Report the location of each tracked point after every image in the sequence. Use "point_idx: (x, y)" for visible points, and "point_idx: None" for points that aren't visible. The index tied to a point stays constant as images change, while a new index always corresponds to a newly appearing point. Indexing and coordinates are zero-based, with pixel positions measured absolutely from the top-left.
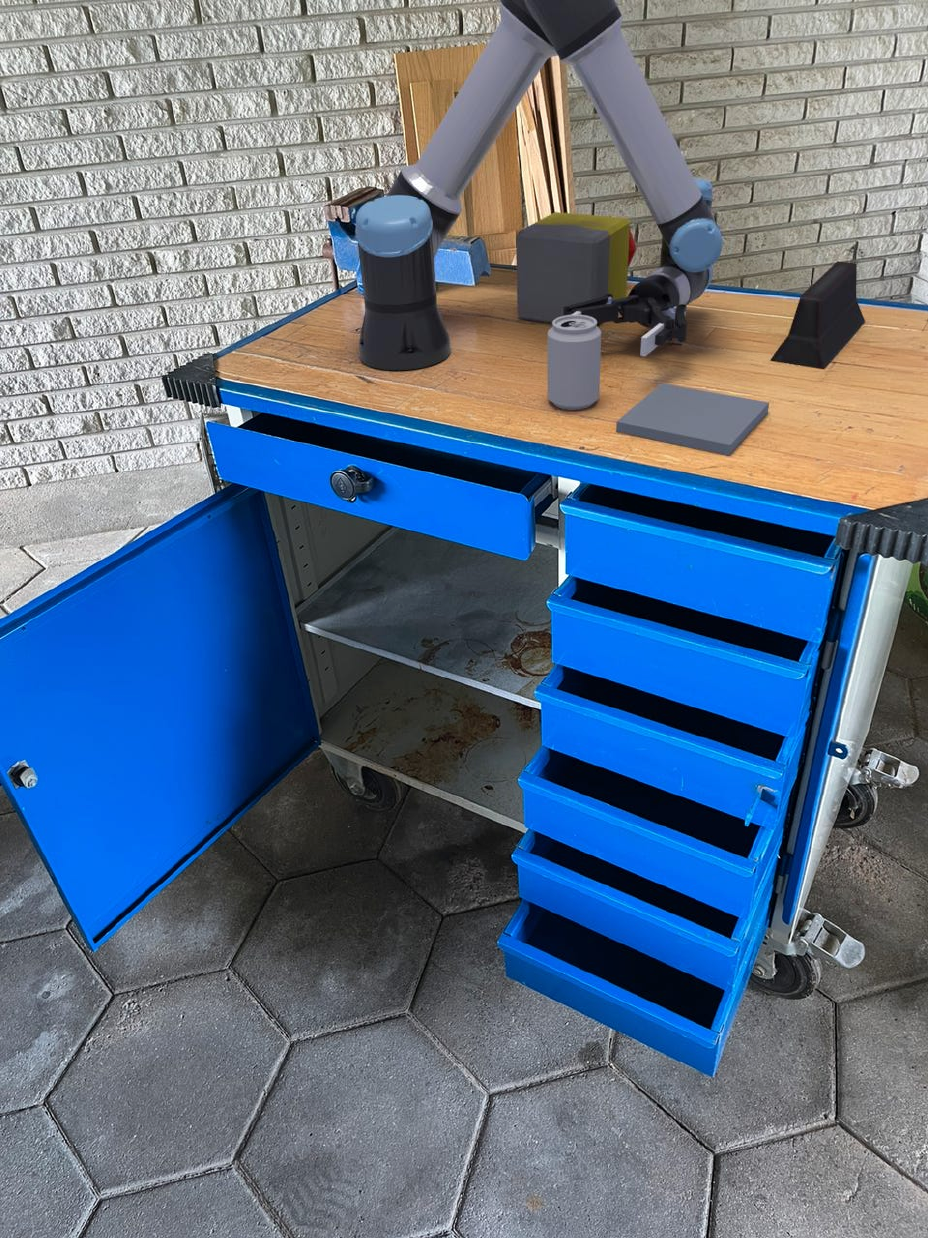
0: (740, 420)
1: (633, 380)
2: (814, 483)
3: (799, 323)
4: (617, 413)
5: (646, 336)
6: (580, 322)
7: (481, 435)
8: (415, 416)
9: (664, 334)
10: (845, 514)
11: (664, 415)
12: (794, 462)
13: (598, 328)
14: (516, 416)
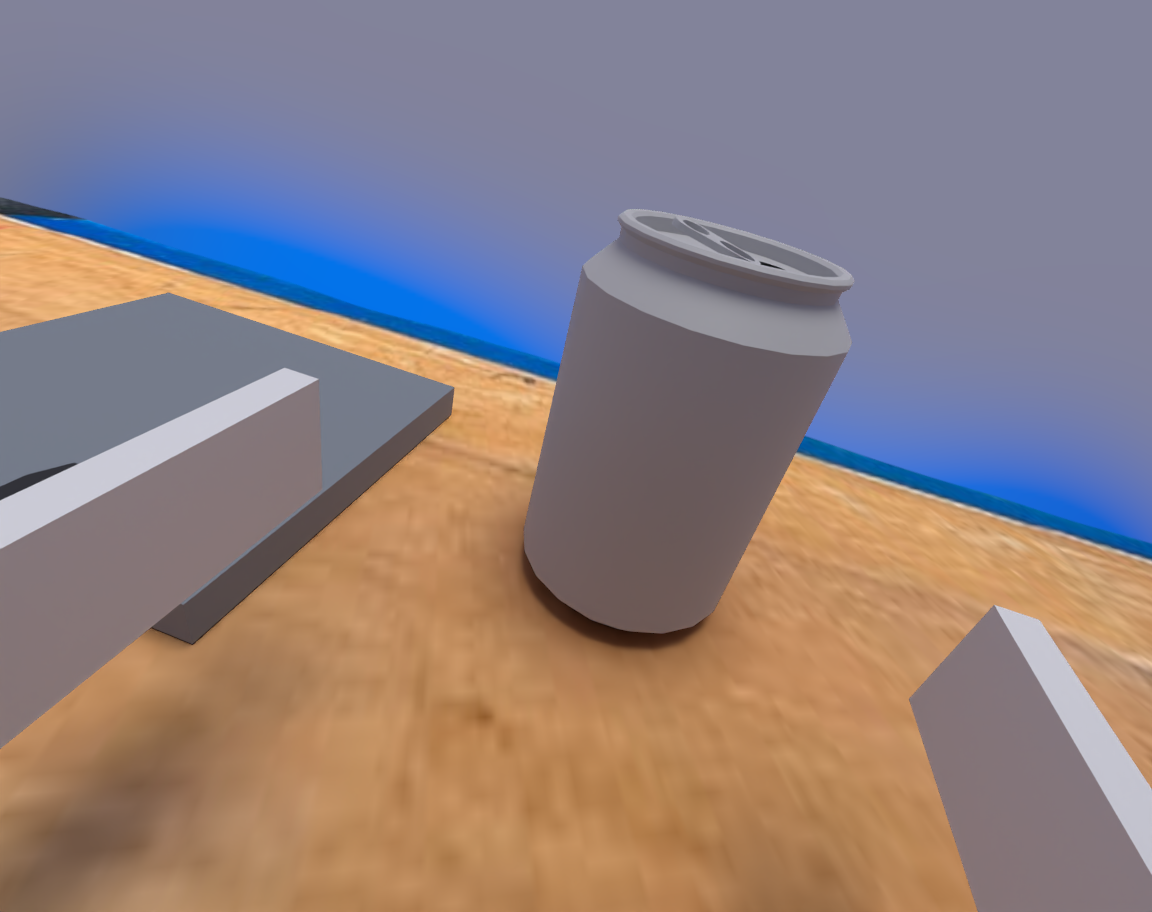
0: (25, 344)
1: (317, 833)
2: (39, 253)
3: None
4: (445, 490)
5: (272, 382)
6: (704, 237)
7: None
8: (966, 509)
9: (7, 489)
10: (67, 220)
11: None
12: (8, 286)
13: (606, 261)
14: None
